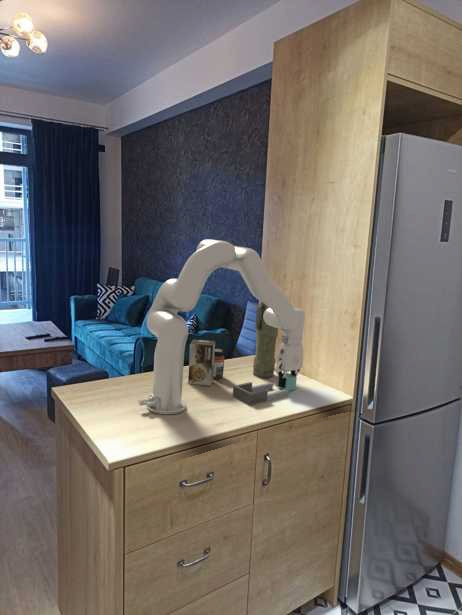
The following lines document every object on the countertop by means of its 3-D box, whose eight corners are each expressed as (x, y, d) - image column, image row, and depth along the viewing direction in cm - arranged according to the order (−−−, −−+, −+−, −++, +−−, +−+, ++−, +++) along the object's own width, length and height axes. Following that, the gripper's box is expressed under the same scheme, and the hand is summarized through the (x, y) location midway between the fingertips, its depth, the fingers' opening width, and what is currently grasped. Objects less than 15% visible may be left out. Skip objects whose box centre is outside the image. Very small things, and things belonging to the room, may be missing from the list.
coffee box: (213, 380, 178) (216, 341, 175) (210, 386, 172) (213, 345, 169) (190, 378, 179) (193, 338, 176) (187, 383, 172) (189, 342, 169)
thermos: (280, 375, 191) (288, 293, 184) (261, 380, 183) (269, 295, 176) (265, 369, 197) (273, 290, 191) (245, 373, 189) (253, 291, 183)
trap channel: (249, 405, 156) (250, 394, 156) (232, 396, 163) (233, 385, 163) (287, 395, 169) (289, 385, 168) (270, 387, 176) (271, 377, 175)
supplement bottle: (206, 374, 184) (208, 347, 182) (220, 374, 186) (222, 347, 184) (210, 379, 179) (212, 352, 177) (224, 379, 181) (226, 352, 178)
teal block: (286, 391, 171) (287, 378, 171) (277, 386, 175) (278, 374, 174) (295, 389, 175) (296, 376, 174) (286, 385, 178) (287, 372, 177)
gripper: (283, 345, 163) (278, 392, 166) (314, 340, 174) (308, 385, 177) (269, 339, 169) (264, 386, 172) (299, 336, 180) (294, 379, 183)
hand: (286, 385), depth 175 cm, fingers closed on teal block, 5 cm apart
